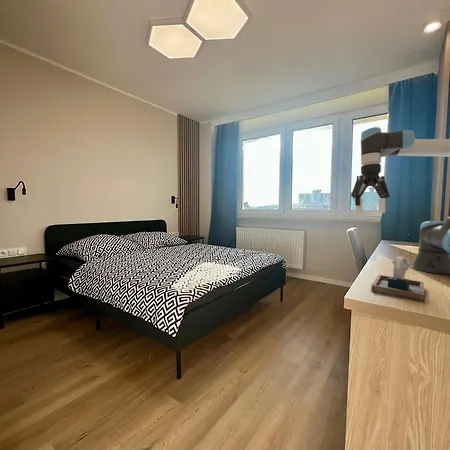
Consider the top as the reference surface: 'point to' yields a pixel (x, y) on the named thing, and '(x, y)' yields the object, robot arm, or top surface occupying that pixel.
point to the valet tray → (412, 293)
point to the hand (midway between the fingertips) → (370, 213)
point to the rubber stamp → (399, 274)
